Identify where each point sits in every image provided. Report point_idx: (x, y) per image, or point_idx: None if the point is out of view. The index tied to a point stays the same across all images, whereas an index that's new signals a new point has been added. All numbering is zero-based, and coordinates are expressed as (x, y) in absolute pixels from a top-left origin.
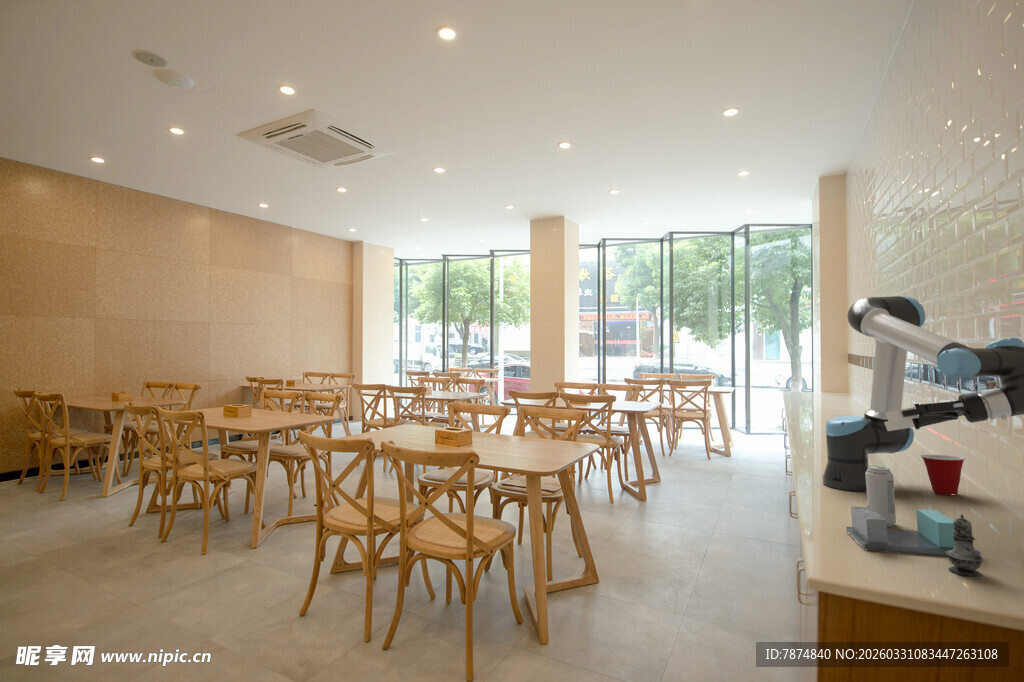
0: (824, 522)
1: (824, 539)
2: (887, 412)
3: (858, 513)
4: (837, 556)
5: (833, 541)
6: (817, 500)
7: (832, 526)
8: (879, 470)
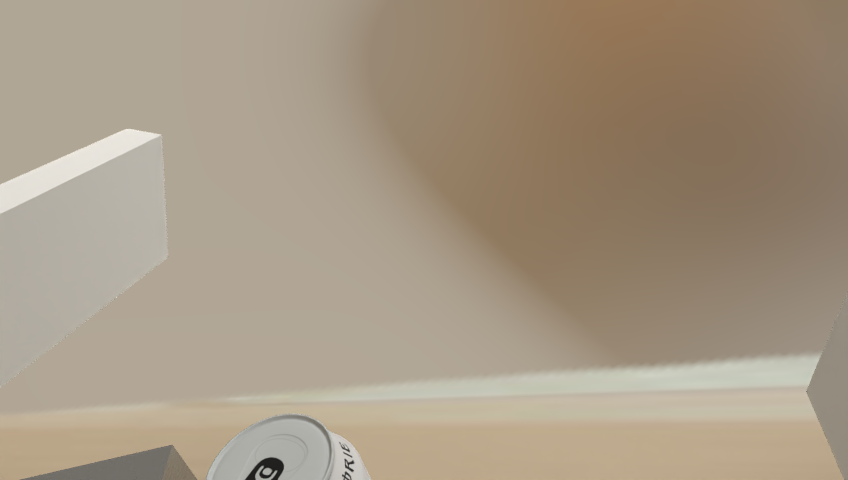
0: (361, 436)
1: (173, 436)
2: (114, 139)
3: (89, 467)
4: (32, 465)
5: None
6: (738, 409)
7: None
8: (215, 470)
